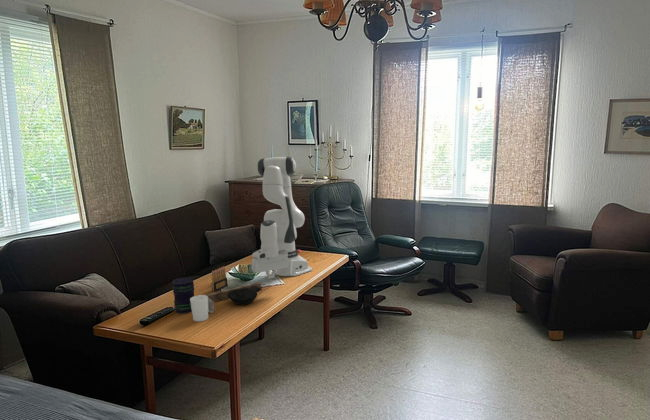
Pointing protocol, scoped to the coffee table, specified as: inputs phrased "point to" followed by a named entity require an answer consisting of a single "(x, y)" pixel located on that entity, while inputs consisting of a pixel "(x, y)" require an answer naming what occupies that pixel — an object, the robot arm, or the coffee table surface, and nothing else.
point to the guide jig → (225, 295)
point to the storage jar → (183, 294)
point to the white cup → (199, 307)
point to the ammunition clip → (219, 279)
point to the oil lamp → (243, 295)
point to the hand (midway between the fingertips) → (271, 278)
